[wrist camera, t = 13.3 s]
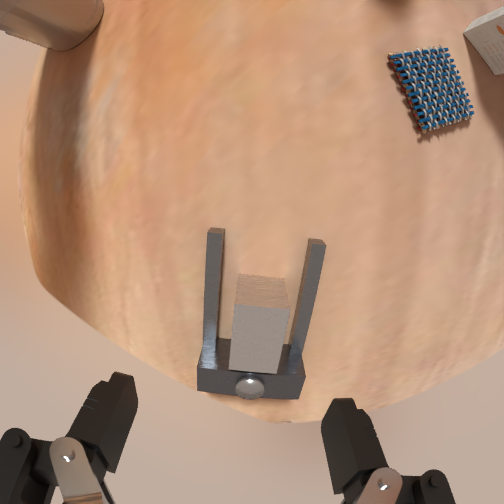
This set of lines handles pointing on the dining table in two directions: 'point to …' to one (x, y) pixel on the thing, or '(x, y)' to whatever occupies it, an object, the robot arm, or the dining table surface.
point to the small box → (489, 39)
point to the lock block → (259, 324)
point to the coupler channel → (218, 349)
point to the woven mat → (432, 86)
